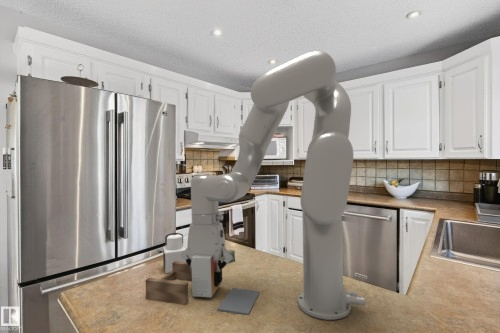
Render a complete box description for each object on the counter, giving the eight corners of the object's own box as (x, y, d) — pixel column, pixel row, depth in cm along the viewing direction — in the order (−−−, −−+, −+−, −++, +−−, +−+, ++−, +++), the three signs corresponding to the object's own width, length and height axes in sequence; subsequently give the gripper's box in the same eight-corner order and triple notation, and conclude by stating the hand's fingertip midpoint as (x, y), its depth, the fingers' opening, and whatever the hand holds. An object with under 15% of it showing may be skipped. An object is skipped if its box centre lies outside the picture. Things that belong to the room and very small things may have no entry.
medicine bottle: (163, 266, 89) (162, 233, 89) (183, 263, 92) (183, 230, 92) (164, 274, 83) (164, 237, 83) (186, 270, 85) (186, 235, 85)
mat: (259, 292, 69) (259, 291, 69) (248, 315, 58) (248, 313, 58) (232, 289, 71) (232, 287, 71) (217, 310, 61) (217, 308, 61)
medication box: (231, 259, 95) (231, 249, 95) (235, 261, 93) (235, 250, 93) (203, 268, 87) (203, 257, 87) (207, 270, 85) (207, 258, 85)
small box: (211, 298, 65) (210, 258, 65) (191, 296, 66) (190, 257, 66) (221, 284, 73) (220, 248, 73) (203, 283, 74) (202, 247, 74)
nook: (209, 280, 77) (208, 264, 77) (185, 304, 64) (185, 284, 64) (175, 276, 80) (174, 261, 80) (145, 298, 67) (145, 280, 67)
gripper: (238, 217, 71) (240, 280, 71) (185, 215, 76) (186, 275, 76) (229, 222, 64) (231, 293, 64) (170, 220, 69) (172, 286, 68)
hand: (207, 282), depth 70 cm, fingers closed on small box, 5 cm apart
